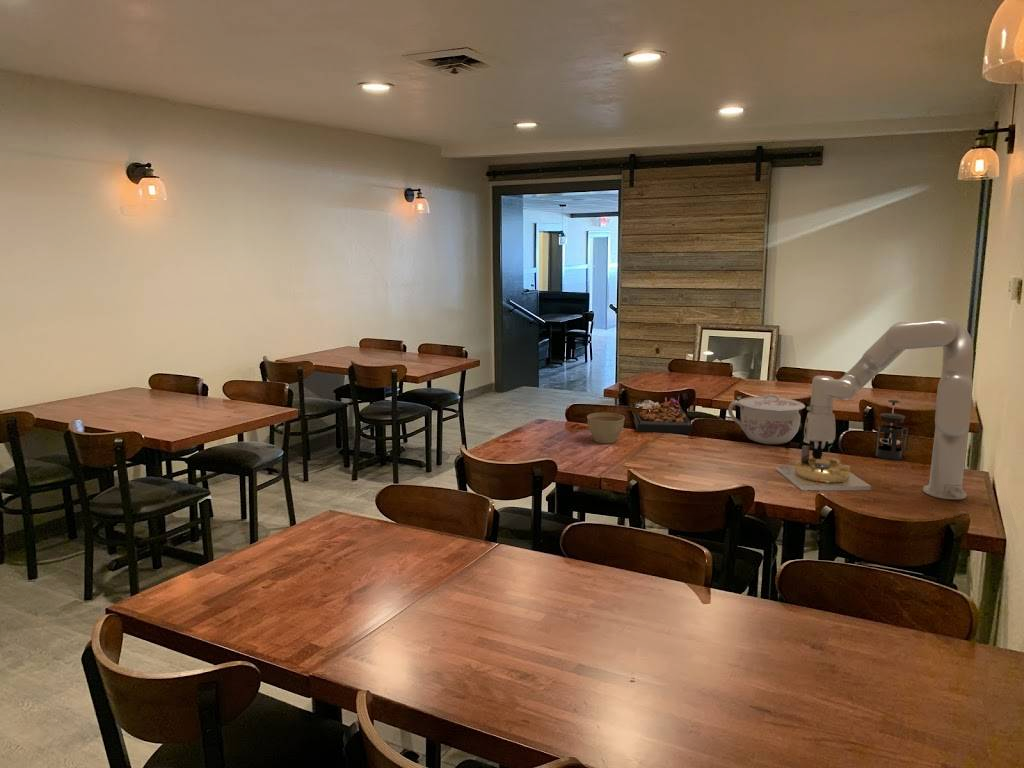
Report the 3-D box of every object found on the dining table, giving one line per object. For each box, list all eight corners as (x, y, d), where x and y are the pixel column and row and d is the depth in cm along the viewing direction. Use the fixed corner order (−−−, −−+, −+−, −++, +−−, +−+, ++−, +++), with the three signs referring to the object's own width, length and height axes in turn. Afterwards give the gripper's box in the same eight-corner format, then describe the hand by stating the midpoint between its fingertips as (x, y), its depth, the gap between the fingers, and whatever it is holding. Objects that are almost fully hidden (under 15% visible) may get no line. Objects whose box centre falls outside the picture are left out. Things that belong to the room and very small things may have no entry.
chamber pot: (816, 445, 305) (820, 397, 301) (765, 452, 295) (768, 402, 291) (770, 430, 331) (773, 386, 327) (721, 436, 321) (724, 390, 317)
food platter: (630, 411, 371) (631, 392, 369) (678, 412, 369) (679, 393, 367) (637, 433, 327) (638, 411, 325) (692, 435, 325) (693, 412, 323)
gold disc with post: (848, 470, 264) (850, 447, 262) (849, 485, 248) (851, 460, 246) (796, 465, 271) (798, 441, 269) (793, 478, 255) (795, 454, 253)
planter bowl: (583, 444, 307) (583, 419, 305) (590, 435, 322) (591, 411, 320) (621, 447, 303) (621, 422, 301) (626, 437, 318) (627, 413, 316)
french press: (878, 459, 285) (883, 402, 281) (870, 452, 294) (875, 397, 290) (909, 460, 283) (915, 403, 279) (900, 453, 292) (906, 398, 288)
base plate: (870, 490, 248) (871, 485, 248) (801, 490, 248) (801, 485, 248) (839, 469, 272) (839, 464, 271) (776, 469, 271) (776, 465, 271)
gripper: (805, 412, 258) (800, 461, 261) (846, 412, 258) (841, 461, 262) (796, 407, 265) (792, 455, 269) (836, 407, 266) (832, 455, 269)
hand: (816, 458), depth 265 cm, fingers closed
